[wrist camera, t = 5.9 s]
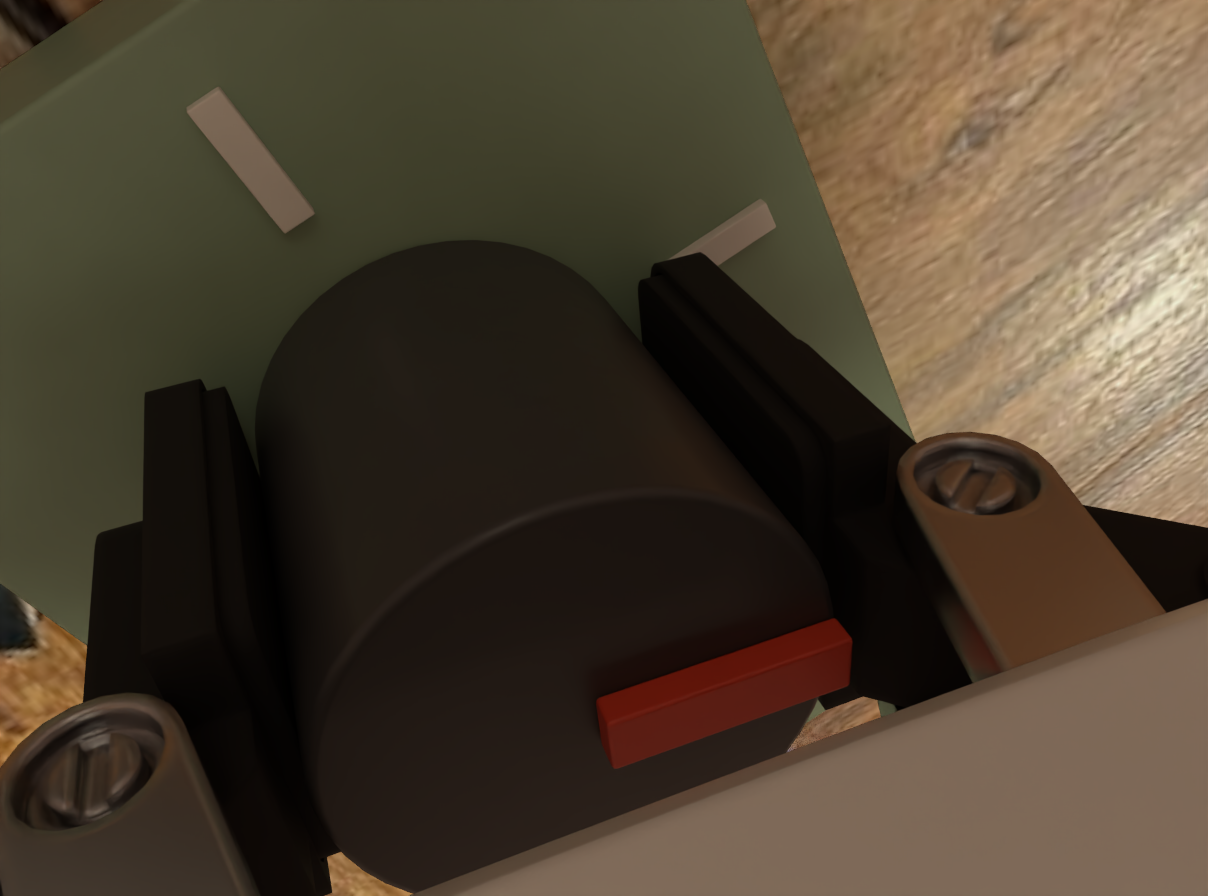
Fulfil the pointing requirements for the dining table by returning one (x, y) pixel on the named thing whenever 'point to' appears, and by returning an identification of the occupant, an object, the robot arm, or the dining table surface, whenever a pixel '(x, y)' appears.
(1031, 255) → the dining table surface
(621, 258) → the panel
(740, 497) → the knob
